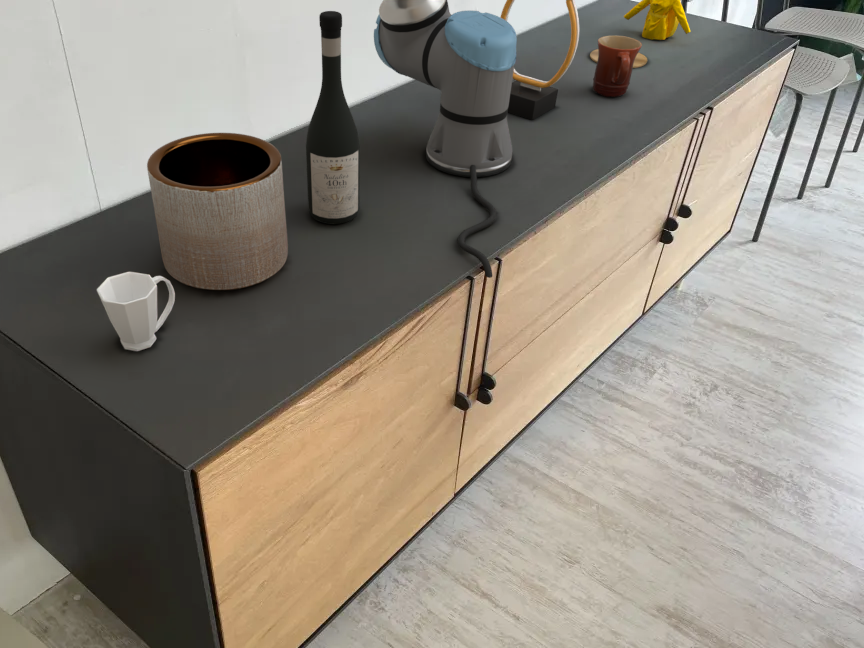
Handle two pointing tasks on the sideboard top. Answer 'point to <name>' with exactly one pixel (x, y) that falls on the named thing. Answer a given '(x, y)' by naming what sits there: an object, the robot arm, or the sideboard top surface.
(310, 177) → the wine bottle
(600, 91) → the mug
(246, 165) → the planter
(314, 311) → the sideboard top surface
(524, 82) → the lamp
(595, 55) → the tan round disc
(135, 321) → the cup
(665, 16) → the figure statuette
